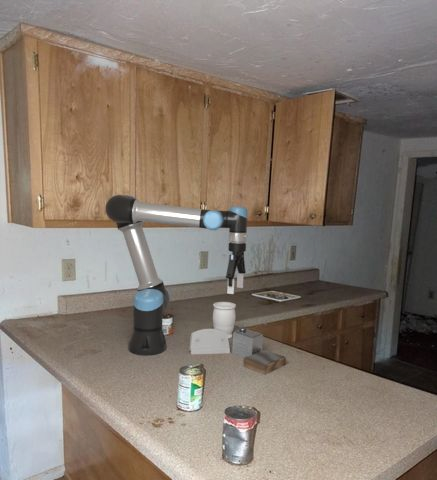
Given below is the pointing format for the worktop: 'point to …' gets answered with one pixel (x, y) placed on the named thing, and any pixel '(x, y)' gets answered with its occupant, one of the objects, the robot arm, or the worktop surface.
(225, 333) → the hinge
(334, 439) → the worktop surface
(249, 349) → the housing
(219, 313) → the jar
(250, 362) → the stand
